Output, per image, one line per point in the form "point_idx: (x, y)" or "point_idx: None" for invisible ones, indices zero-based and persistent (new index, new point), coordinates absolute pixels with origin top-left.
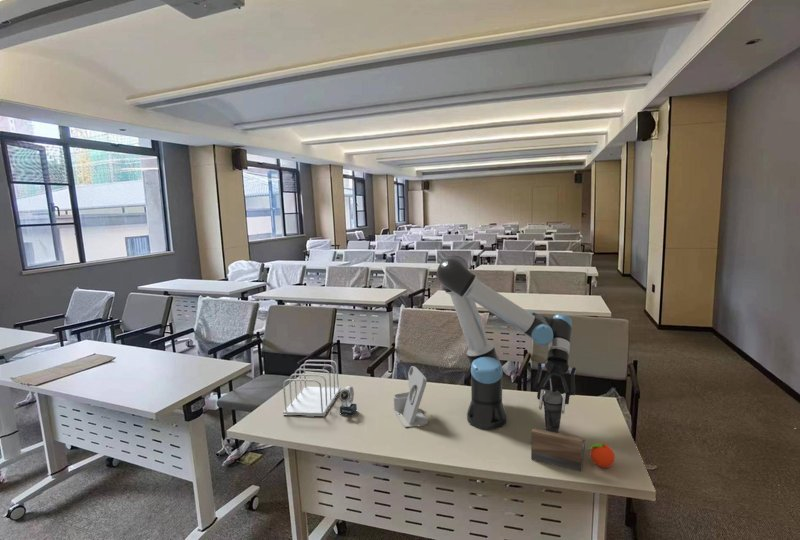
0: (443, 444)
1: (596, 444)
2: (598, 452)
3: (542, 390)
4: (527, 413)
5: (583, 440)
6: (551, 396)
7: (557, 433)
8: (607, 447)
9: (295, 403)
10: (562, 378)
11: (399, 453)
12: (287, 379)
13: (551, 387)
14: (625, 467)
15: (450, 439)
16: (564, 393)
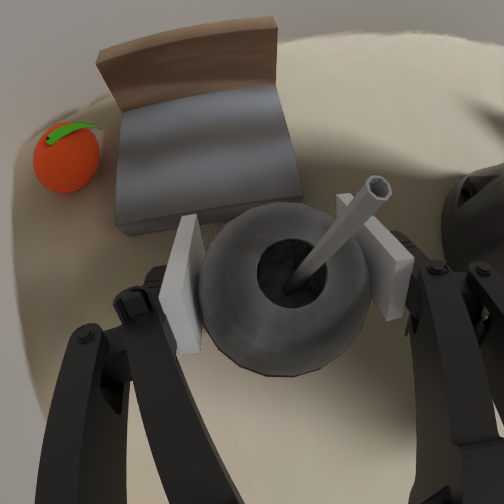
0: (466, 82)
1: (65, 133)
2: (69, 122)
3: (397, 256)
4: (414, 397)
5: (119, 221)
6: (283, 204)
7: (180, 39)
8: (39, 140)
9: None
10: (207, 471)
11: (477, 46)
12: None
13: (317, 243)
14: (34, 203)
15: (475, 103)
16: (170, 293)
